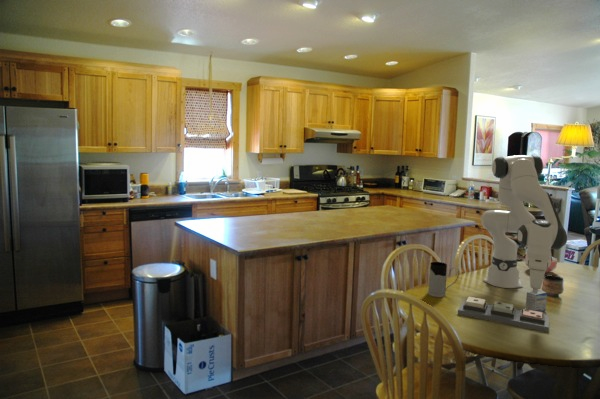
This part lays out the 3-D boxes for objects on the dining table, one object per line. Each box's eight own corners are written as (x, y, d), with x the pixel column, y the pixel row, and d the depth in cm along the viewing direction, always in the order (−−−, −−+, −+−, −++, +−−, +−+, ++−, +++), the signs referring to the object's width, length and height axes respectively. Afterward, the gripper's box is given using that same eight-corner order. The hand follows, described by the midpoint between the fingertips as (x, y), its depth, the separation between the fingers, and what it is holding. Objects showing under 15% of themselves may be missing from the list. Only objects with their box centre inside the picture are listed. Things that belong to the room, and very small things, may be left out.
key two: (495, 305, 193) (495, 301, 192) (512, 309, 189) (513, 304, 189) (493, 310, 186) (493, 306, 186) (511, 314, 183) (512, 309, 183)
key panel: (463, 304, 202) (463, 296, 202) (548, 320, 186) (549, 312, 186) (457, 314, 190) (458, 306, 190) (548, 332, 174) (549, 323, 174)
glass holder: (425, 290, 221) (427, 261, 219) (455, 292, 219) (457, 262, 217) (429, 296, 212) (431, 265, 210) (459, 298, 210) (462, 267, 209)
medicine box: (534, 314, 193) (536, 295, 192) (524, 310, 197) (526, 291, 195) (545, 311, 196) (547, 292, 195) (536, 308, 200) (538, 289, 199)
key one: (468, 300, 198) (468, 296, 198) (485, 303, 194) (485, 299, 194) (465, 305, 192) (466, 300, 191) (483, 309, 188) (483, 304, 188)
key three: (523, 313, 187) (523, 308, 187) (541, 316, 184) (542, 311, 184) (522, 318, 181) (522, 313, 181) (541, 322, 178) (542, 317, 178)
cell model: (518, 271, 259) (519, 252, 257) (531, 265, 272) (533, 247, 271) (549, 278, 246) (551, 258, 245) (561, 271, 260) (563, 253, 259)
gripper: (530, 253, 190) (527, 284, 192) (528, 265, 172) (525, 299, 174) (546, 255, 187) (543, 286, 189) (547, 267, 169) (543, 302, 171)
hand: (534, 292), depth 182 cm, fingers closed
